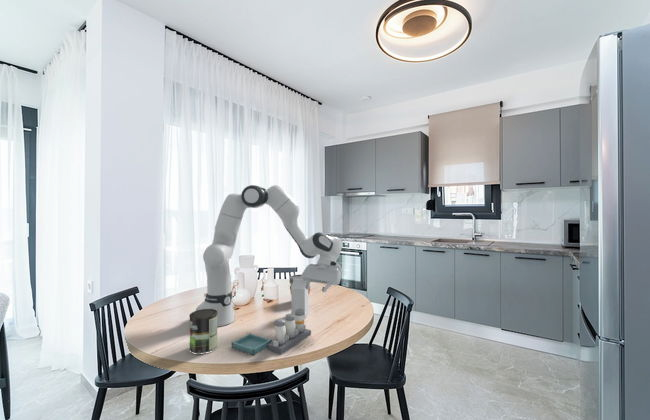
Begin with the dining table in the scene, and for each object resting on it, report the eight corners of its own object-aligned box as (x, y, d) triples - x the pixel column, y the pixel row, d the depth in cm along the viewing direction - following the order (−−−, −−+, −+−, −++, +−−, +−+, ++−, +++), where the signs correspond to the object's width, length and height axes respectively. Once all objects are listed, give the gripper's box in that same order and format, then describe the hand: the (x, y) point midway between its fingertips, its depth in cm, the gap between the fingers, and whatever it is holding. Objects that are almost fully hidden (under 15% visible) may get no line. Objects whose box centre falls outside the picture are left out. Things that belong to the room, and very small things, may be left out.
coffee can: (195, 358, 108) (195, 320, 108) (185, 348, 115) (185, 313, 115) (222, 348, 115) (222, 313, 115) (211, 340, 122) (211, 306, 122)
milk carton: (304, 318, 146) (304, 281, 146) (291, 317, 147) (291, 280, 147) (308, 313, 153) (308, 277, 153) (295, 313, 154) (295, 277, 154)
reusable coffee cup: (302, 307, 164) (302, 280, 163) (285, 303, 170) (284, 277, 170) (314, 301, 174) (314, 276, 174) (298, 297, 181) (297, 273, 181)
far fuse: (273, 344, 114) (272, 321, 114) (279, 340, 118) (279, 317, 118) (281, 346, 112) (280, 323, 112) (287, 342, 116) (287, 319, 116)
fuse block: (267, 349, 114) (267, 339, 114) (298, 331, 131) (298, 322, 131) (281, 354, 110) (281, 343, 110) (310, 334, 127) (310, 325, 127)
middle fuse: (283, 337, 120) (283, 316, 120) (289, 334, 123) (289, 313, 123) (291, 340, 118) (291, 317, 118) (297, 336, 121) (297, 314, 121)
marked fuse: (293, 332, 125) (293, 311, 125) (298, 328, 129) (298, 308, 129) (300, 334, 123) (300, 312, 123) (306, 330, 127) (306, 310, 127)
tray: (231, 347, 116) (231, 342, 116) (250, 338, 124) (250, 333, 124) (253, 355, 109) (253, 349, 109) (271, 344, 118) (271, 339, 118)
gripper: (305, 260, 148) (294, 283, 140) (341, 263, 138) (331, 289, 130) (310, 267, 152) (299, 290, 144) (345, 271, 142) (336, 296, 133)
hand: (315, 290), depth 137 cm, fingers open, 8 cm apart
